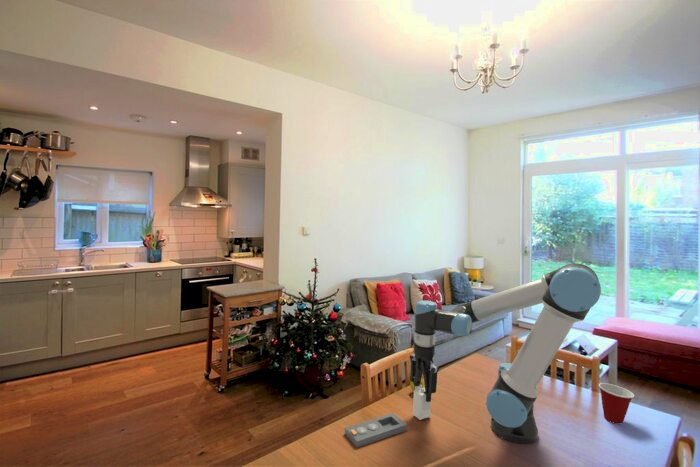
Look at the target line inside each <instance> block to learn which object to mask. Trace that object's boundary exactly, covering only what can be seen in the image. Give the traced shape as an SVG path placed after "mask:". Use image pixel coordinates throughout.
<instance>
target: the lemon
mask: <svg viewBox="0 0 700 467" xmlns="http://www.w3.org/2000/svg"><path fill="white" fill-rule="evenodd" d="M413 378H414V377H413ZM421 383H422V384H419V385H422V388H424V378H423V377H422V378H421ZM409 384H410V385H409V387H410V389H411V390H412V391H413V392H414V384H413V382H411V380H410V383H409Z"/></svg>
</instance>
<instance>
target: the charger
mask: <svg viewBox="0 0 700 467" xmlns="http://www.w3.org/2000/svg"><path fill="white" fill-rule="evenodd" d="M423 392H425V387H423V388H421V389H418V390H414V391H413V398H412V399H413V401H412V402H413V403H412V405H413V406H412V415H413V416H415V418H416V419H418V420H420V421H421V420H424V419H427V418H431V415H432V414H431V411H432V400H431V401H430V409H428V410H423Z"/></svg>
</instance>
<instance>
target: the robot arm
mask: <svg viewBox="0 0 700 467" xmlns="http://www.w3.org/2000/svg"><path fill="white" fill-rule="evenodd" d="M601 290H602V288H601V284H600V281H599V278H598V275H597V273H596V272H595V271H594V270H593V269H592V268H591V267H589V266H588V265H585V264H583V263H578V262H577V263H573V262H572V263H568V264H565V265H563V266H562V267H559V268H557V269H554V270H552V271H550V272H547V273H544V274H543V275H542V276H541V278H539V279H535V280H534V281H529V282H528V283H527V282H526V283H523V284H521V285H518V286H515V287H512V288H509V289H506V290H503V291H499V292H497V293H493V294H490V295H487V296H484V297H481V298H478V299H475V300H472V301H469V302H463V303H460V304H458V305H456V306H455V307H454V308H452V309H451V310H443V309H440V308H438V306H437V305H438V304H437V303H436V302H435V301H431V300H420V301H417V302H416V304H415V309H414V310H415V311H414V334H413V335H414V336H413V337H414V338H413V342H414V343H413V354H410V355H409V360H410V377H409V378H410V381H411V382H413V384H414V390H418V389H421V388H422V385H419V384H422V383H421V378H422V379H423V386H424V388H425V392H423V410H428V409H430V401H431V402H432V394H436V393H437V382H438V373H439V370H440V367H439V366H437V365H435V363H434V359H433V358H434V357H435V355H436V352H435V350H436V346H435V345H436V331H437V332H441V333H445V334H450V335H454V336H457V337H459V336H460V337H468V336H469V335H470V332H471V330H472V325H473V324H475V323H477V322H481V321H484V320H487V319H491V318H495V317H498V316H501V315H505V314H508V313H512V312H516V311H519V310H522V309H526V308H529V307H530V308H531V307H533V306H534V307H535V306H536V305H540V304H543V307H542V310H541V311H540V313H539V315H538V317H537V318H536V320H535V323H534V324H533V325H532V328H531V330H530V331H529V333H528V335H527V336H526V338H525V340H524V342H523V344H522V345H521V347H520V349H519V351H518V352H517V354H516V356H515V358H514V360H513V361H512V363H511V362H509V363H508V362H504V363H503V362H502V363H501V364H499V365H498V369H497V372H498V375H497V376H498V377H497V379H496V380H495V383H494V384H493V387H491V390H490V392H489V393H488V394H487V396H486V401H485V404H486V409H487V412H488V414H489V415H490V417H491V418H490V428H491V430H492V431H493V432H494V433H495V434H496V435H497V436H498V437H500V438H502V439H504V440H506V441H509V442H512V443H515V444H519V445H520V444H522V445H528V444H529V445H530V444H533V443H535V442H536V441H537V440H538V437H539V436H538V435H539V430H538V429H539V428H538V426H537V423H536V419H535V416H534V408H535V407H534V406H535V405H534V404H535V402H536V400H537V398H538V396H539V394H540V393H539V391H538V388H537V386H538V384H540V382H541V380H542V378H543V377H544V375H545V373H546V371H547V370H548V368H549V367H550V365H551V363H552V361H553V359H554V358H555V356H556V354H557V352H559V350H560V348H561V346H562V344H563V343H564V341H565V339H566V338H567V336H568V334H569V332H570V331H571V330H572V328H573V326H574V324H575V323H578V322H582V321H584V320H585V319H586V317H587V316H588V313H589V312H590V310H591V308H593V307H594V306H595V305H596V304H597V303H598V301H599V300H600V298H601V294H602V292H601ZM413 377H414V378H413Z"/></svg>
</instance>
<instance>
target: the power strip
mask: <svg viewBox="0 0 700 467" xmlns="http://www.w3.org/2000/svg"><path fill="white" fill-rule="evenodd" d="M407 430H408V424H407V423H406V422H405V421H403V420H402V418H400V417H399V416H397V414H395V413H394V412H392V413H389V414H385V415H381V416H379V417H374V418H373V419H369V420H366V421H362V422H360V423H355V424H353V425H350V426H346V427H345V428H344V434H345V435H346V436H347V438H348V439H349V440H350V441H351V443H352V444H353V445H354V446H355V447H356V448H360V447H362V446H363V447H364V446H366V445H368V444H371V443H375V442H377V441H381V440H383V439H386V438H389V437H391V436H394V435H398V434H400V433H403V432H407Z"/></svg>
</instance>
